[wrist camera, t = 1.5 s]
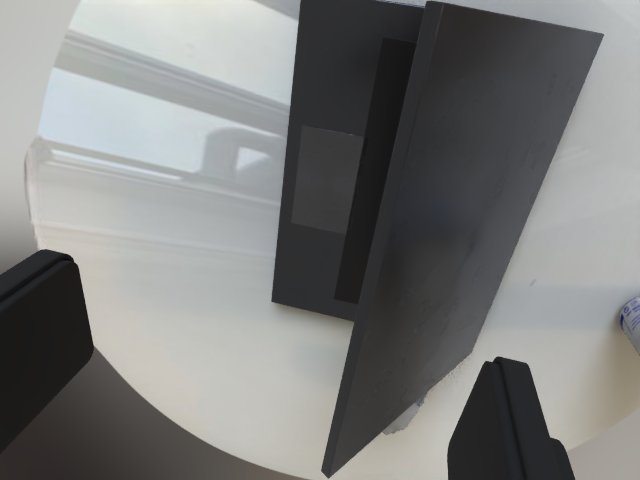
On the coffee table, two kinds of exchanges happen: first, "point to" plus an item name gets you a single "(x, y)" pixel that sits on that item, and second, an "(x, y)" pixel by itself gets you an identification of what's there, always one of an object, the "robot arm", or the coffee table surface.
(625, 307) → the beverage can
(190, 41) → the coffee table surface
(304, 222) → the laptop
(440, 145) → the screen
